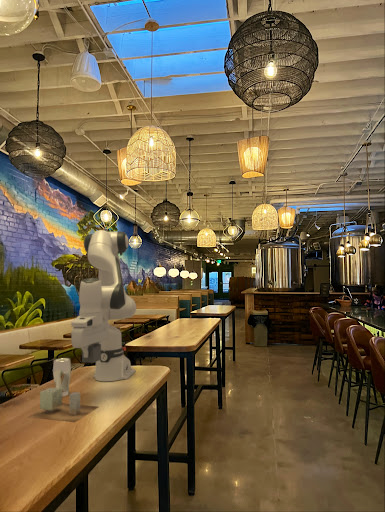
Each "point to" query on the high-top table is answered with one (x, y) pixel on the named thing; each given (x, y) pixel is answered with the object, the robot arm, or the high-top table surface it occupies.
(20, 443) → the high-top table surface
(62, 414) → the walnut board
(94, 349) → the dark grey paneled cube
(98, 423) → the high-top table surface
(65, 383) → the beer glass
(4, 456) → the high-top table surface
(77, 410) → the steel post
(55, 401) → the pale green block
